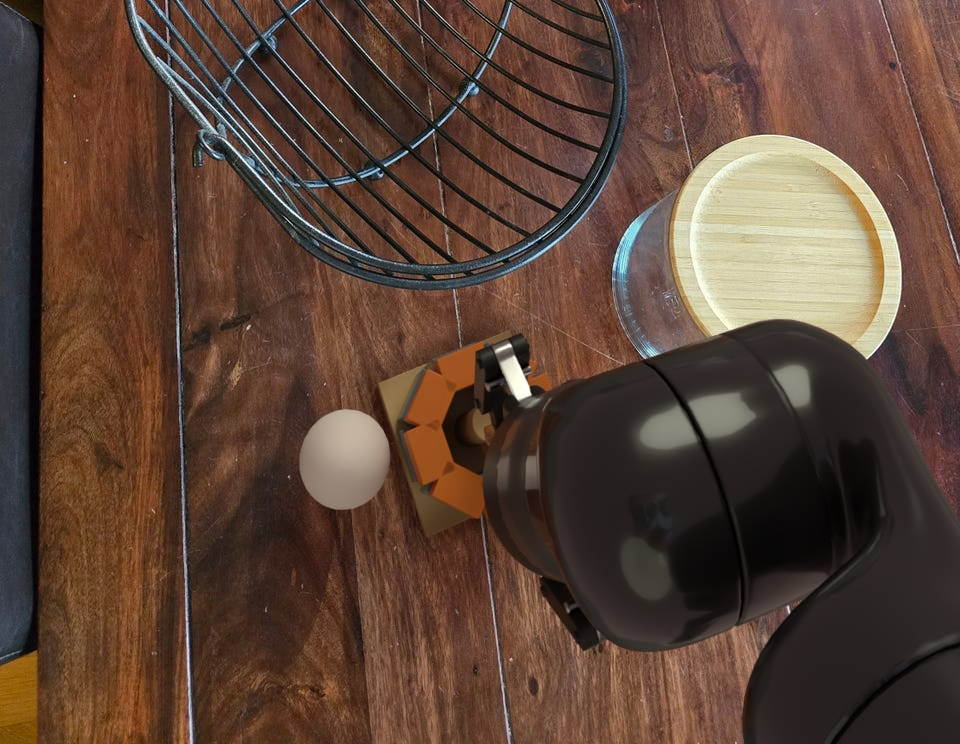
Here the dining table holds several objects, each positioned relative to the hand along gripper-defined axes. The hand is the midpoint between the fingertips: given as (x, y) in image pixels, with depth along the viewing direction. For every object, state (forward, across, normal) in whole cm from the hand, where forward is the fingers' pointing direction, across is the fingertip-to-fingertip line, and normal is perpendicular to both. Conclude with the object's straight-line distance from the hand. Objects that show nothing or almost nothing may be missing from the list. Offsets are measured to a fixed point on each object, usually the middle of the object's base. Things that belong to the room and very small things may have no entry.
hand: (515, 485), depth 62 cm
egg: (+10, -5, -8) cm, 13 cm away
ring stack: (+10, -3, 0) cm, 10 cm away
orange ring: (+4, -3, 0) cm, 5 cm away
